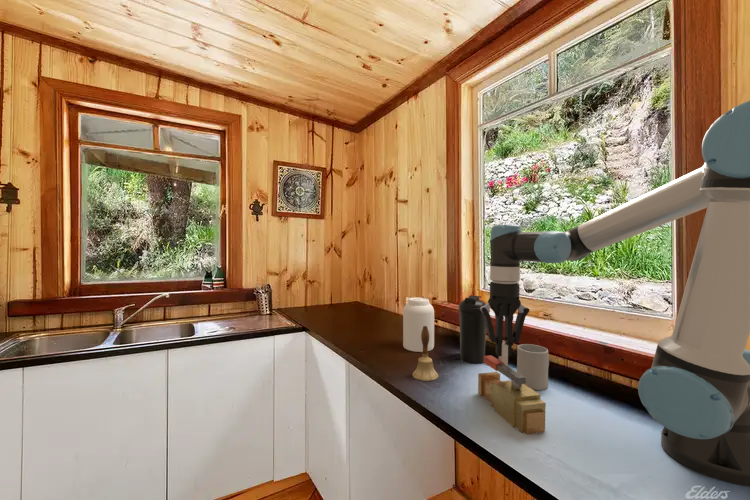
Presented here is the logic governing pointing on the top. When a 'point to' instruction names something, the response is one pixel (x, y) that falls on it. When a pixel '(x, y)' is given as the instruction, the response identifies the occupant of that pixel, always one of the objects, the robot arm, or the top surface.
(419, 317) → the white lidded jar
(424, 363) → the hand bell
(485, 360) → the lever
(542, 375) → the mug
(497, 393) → the valve
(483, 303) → the water bottle
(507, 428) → the top surface
